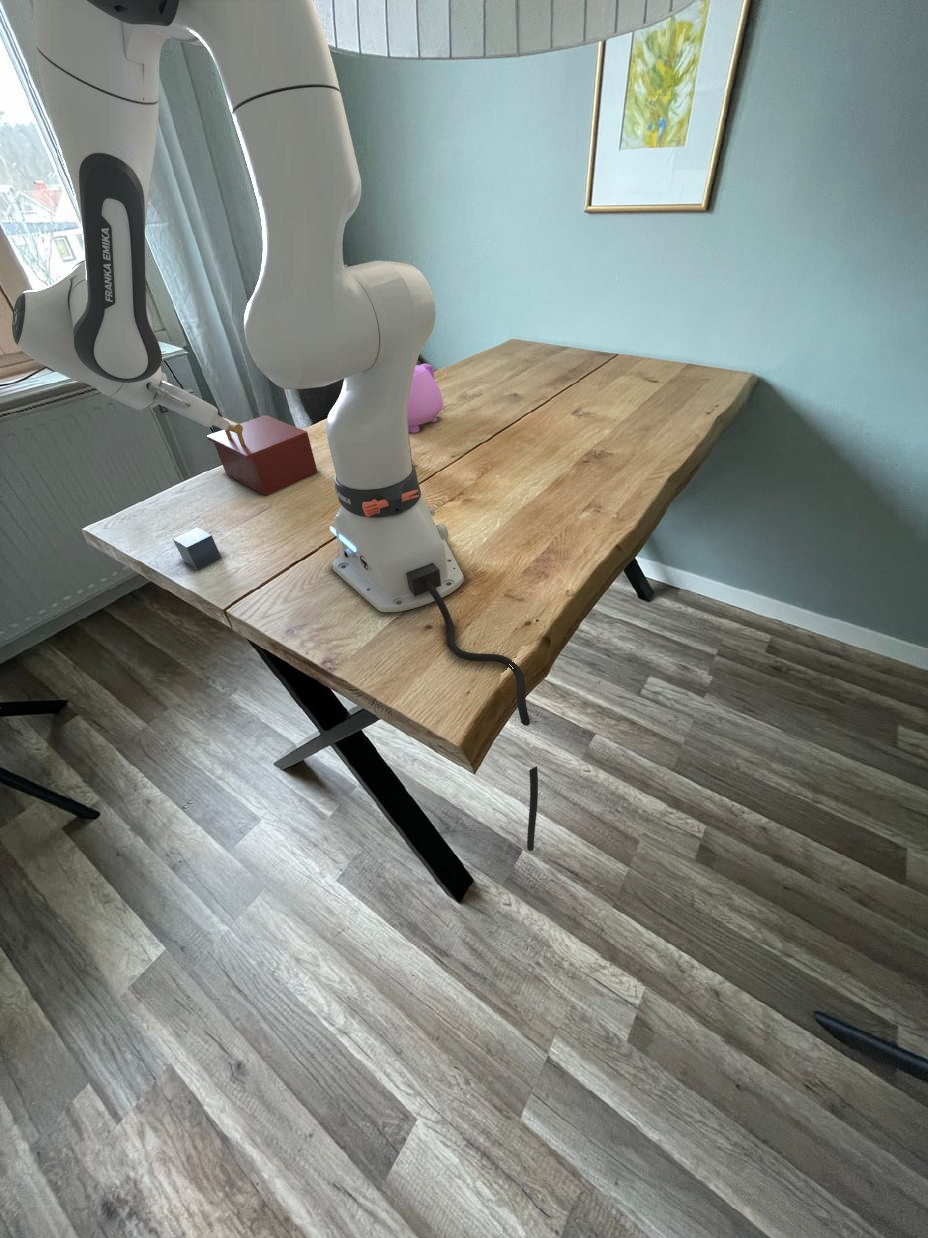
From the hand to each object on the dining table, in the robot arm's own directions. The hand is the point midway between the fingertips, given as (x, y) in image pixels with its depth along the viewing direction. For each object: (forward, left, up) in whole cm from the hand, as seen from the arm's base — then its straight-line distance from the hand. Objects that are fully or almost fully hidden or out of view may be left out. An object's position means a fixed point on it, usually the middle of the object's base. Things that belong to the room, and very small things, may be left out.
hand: (214, 420), depth 97 cm
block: (-23, +10, -14) cm, 29 cm away
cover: (+2, -7, -6) cm, 9 cm away
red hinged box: (+2, -7, -14) cm, 16 cm away
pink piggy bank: (+9, -42, -14) cm, 45 cm away
